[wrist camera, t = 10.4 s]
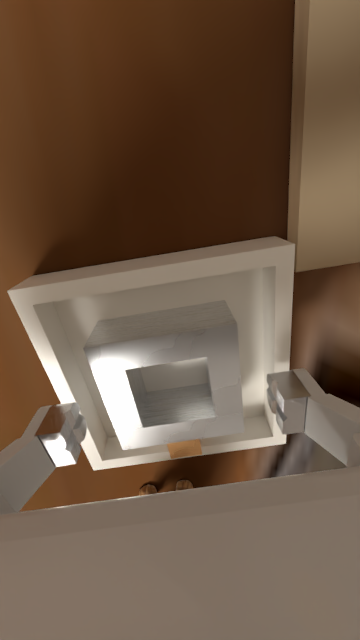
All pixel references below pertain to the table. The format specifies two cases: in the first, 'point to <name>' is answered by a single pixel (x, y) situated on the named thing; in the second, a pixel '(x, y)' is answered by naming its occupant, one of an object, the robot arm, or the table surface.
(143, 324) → the ring
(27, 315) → the tray
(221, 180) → the table surface
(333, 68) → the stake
